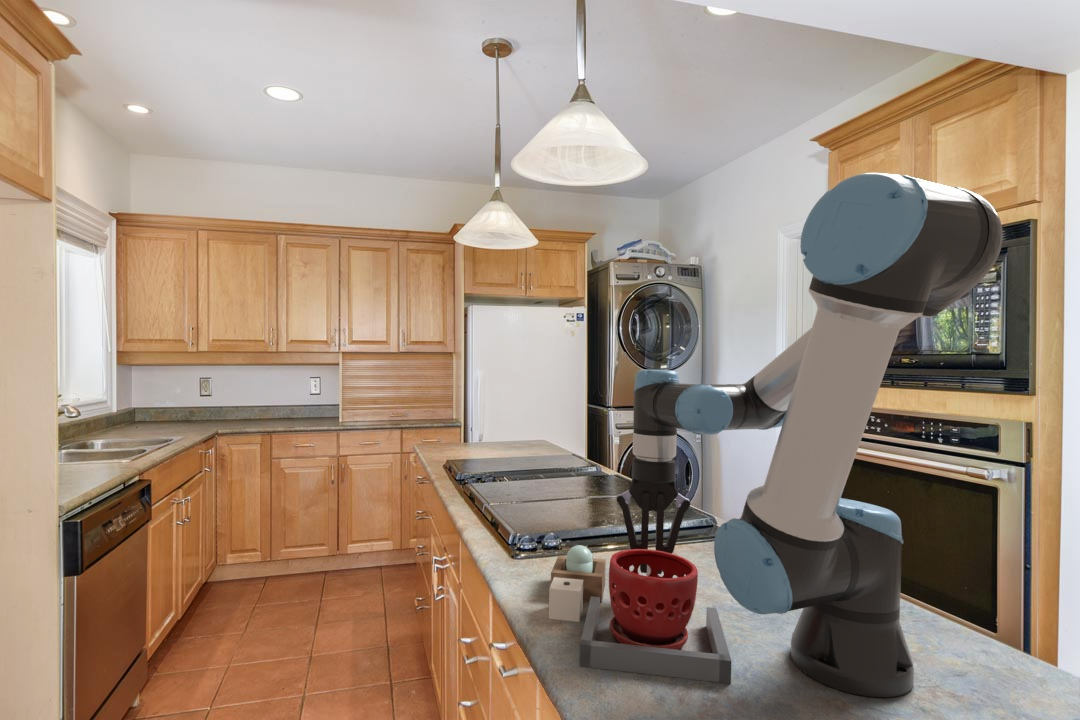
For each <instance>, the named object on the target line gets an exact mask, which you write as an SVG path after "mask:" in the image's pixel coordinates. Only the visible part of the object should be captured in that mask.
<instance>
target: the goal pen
mask: <svg viewBox="0 0 1080 720" xmlns="http://www.w3.org/2000/svg"><path fill="white" fill-rule="evenodd" d="M600 607H601V603H600V597H592V596H591V598H590V602H588V608H587V612H586V616H585V619H584V620H585V621H584V624H583V630H582V634H581V637H580V643H579V663H578V664H579V665H578V666H579V667H582V668H583V667H584V668H592V669H602V670H609V671H618V672H627V673H636V674H645V675H653V676H660V677H661V676H662V677H668V678H669V677H670V678H678V679H686V680H687V679H688V680H695V681H705V682H713V683H722V684H728V685H729V684H732V658H731V655H730V650H729V648H728V644H727V641H726V636H725V634H724V630H723V626H722V623H721V619H720V616H719V612H718V609H717V607H707V606H706V616H705V617H706V618H705V620H706V621H705V622H706V623H705V626H706V632H707V635H708V641H709V644H710V649H711V652H705V651H704V652H703V651H702V652H701V651H695V650H694V651H693V650H683V649H678V650H676V649H667V648H657V647H648V646H639V645H630V644H621V643H620V642H619V643H618V642H612V641H611V642H610V641H609V642H608V641H602V640H601V641H600V640H599V641H598V640H596V639H597V638H596V637H597V632H598V625H599V620H600V614H601V612H600Z"/></svg>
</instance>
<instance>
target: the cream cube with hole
mask: <svg viewBox="0 0 1080 720" xmlns="http://www.w3.org/2000/svg"><path fill="white" fill-rule="evenodd" d="M548 591H549V592H548V593H549V594H548V619H550V620H556V621H557V620H559V621H568V622H578V623H580V621H581V617H582V613H583V608H584V601H583V580H580V579H569V578H558V577H554V579H553V581H552V583H551V582H550V586H549V589H548Z"/></svg>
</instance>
